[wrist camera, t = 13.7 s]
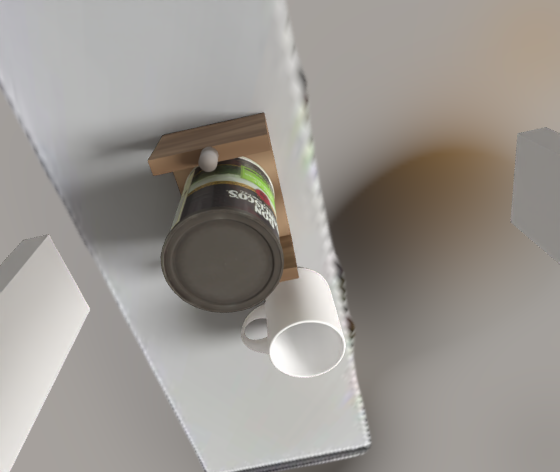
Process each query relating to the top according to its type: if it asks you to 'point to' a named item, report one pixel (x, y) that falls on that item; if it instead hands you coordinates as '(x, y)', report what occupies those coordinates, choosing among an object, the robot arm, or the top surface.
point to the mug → (300, 327)
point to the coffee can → (224, 238)
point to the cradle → (223, 146)
